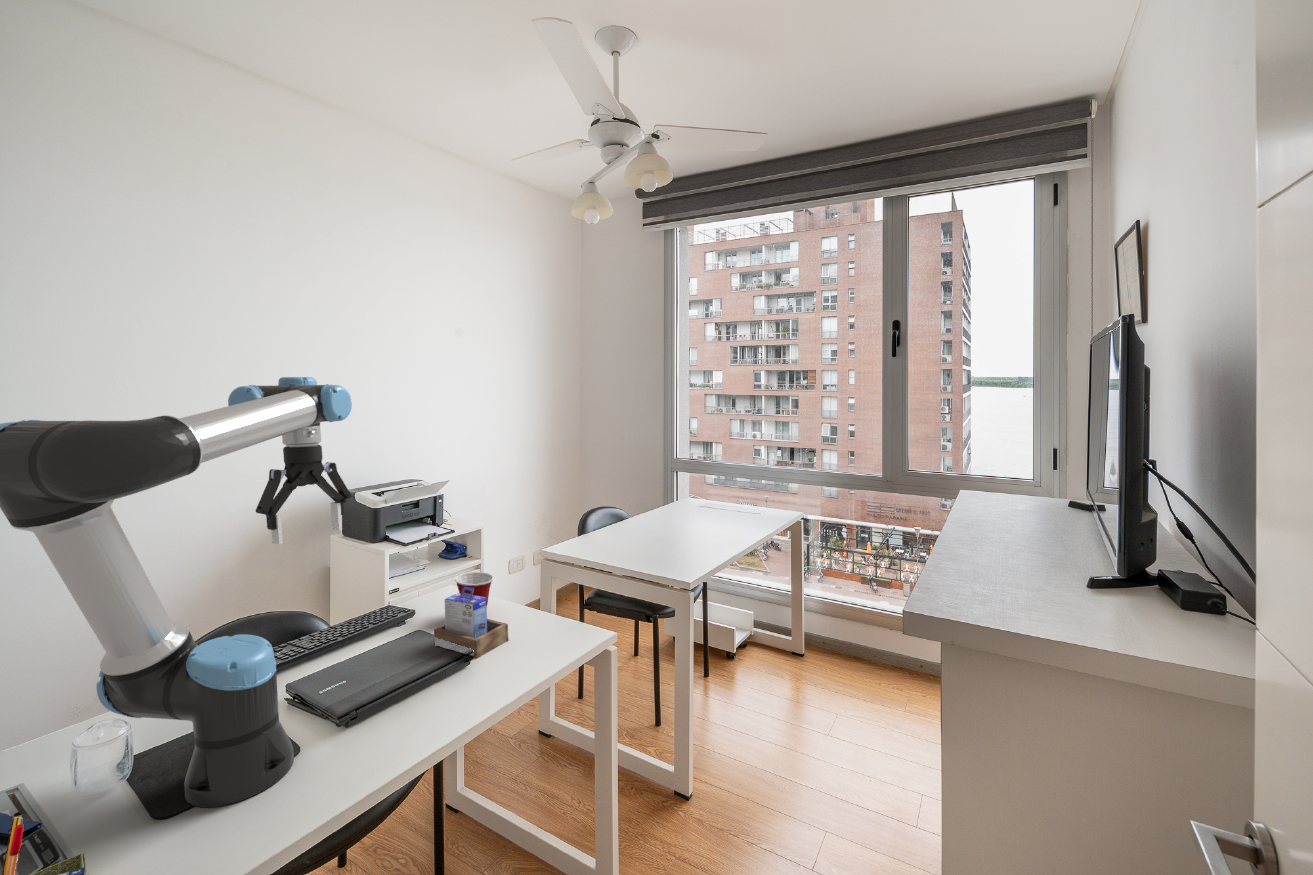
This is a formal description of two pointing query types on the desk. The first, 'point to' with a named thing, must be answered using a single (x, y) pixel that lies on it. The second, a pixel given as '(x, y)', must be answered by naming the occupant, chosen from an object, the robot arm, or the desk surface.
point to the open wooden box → (480, 645)
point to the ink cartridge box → (466, 614)
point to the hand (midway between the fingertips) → (308, 536)
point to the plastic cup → (475, 583)
